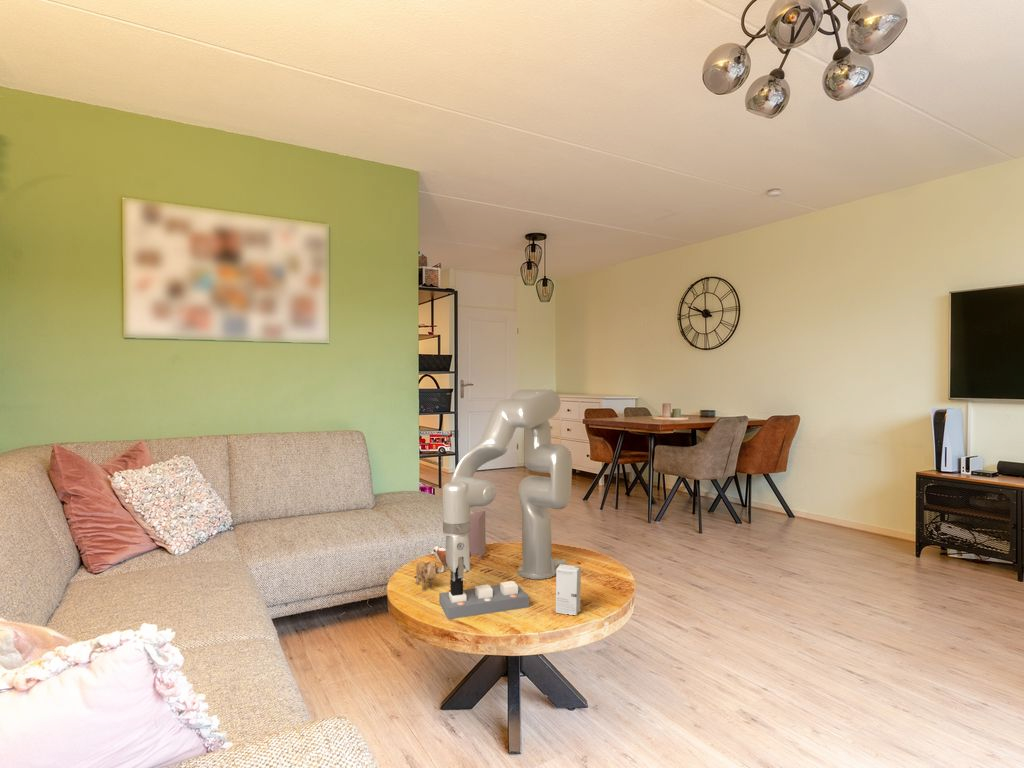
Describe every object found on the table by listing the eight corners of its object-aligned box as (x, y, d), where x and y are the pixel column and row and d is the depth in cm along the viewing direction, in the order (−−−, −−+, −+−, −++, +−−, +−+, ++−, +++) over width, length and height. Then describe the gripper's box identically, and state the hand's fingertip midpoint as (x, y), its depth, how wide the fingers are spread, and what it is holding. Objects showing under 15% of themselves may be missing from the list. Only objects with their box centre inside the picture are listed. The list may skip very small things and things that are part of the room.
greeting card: (484, 550, 208) (483, 510, 208) (498, 554, 203) (497, 513, 202) (460, 558, 200) (460, 516, 199) (474, 562, 194) (474, 519, 194)
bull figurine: (432, 568, 189) (432, 544, 189) (471, 569, 188) (471, 544, 188) (429, 572, 185) (428, 548, 185) (469, 573, 184) (469, 548, 184)
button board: (516, 592, 167) (515, 582, 167) (529, 607, 156) (529, 595, 156) (439, 603, 159) (439, 592, 159) (447, 619, 149) (447, 607, 149)
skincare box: (555, 613, 152) (554, 568, 152) (559, 606, 156) (559, 563, 156) (577, 616, 150) (576, 571, 150) (581, 610, 154) (581, 566, 154)
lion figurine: (443, 591, 169) (443, 561, 169) (427, 595, 166) (426, 565, 166) (421, 577, 181) (421, 549, 181) (406, 581, 178) (406, 552, 178)
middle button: (488, 596, 160) (488, 584, 160) (492, 601, 157) (492, 589, 157) (475, 598, 159) (474, 586, 159) (478, 603, 155) (478, 591, 155)
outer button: (463, 602, 158) (462, 590, 158) (466, 608, 154) (466, 595, 154) (449, 604, 157) (448, 592, 157) (452, 610, 153) (452, 597, 153)
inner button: (513, 593, 163) (513, 580, 163) (518, 598, 159) (518, 585, 159) (500, 594, 162) (500, 582, 162) (504, 600, 158) (504, 587, 158)
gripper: (476, 533, 149) (477, 602, 149) (463, 520, 163) (463, 583, 164) (449, 535, 147) (449, 606, 147) (437, 522, 161) (437, 586, 161)
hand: (456, 593), depth 155 cm, fingers closed
